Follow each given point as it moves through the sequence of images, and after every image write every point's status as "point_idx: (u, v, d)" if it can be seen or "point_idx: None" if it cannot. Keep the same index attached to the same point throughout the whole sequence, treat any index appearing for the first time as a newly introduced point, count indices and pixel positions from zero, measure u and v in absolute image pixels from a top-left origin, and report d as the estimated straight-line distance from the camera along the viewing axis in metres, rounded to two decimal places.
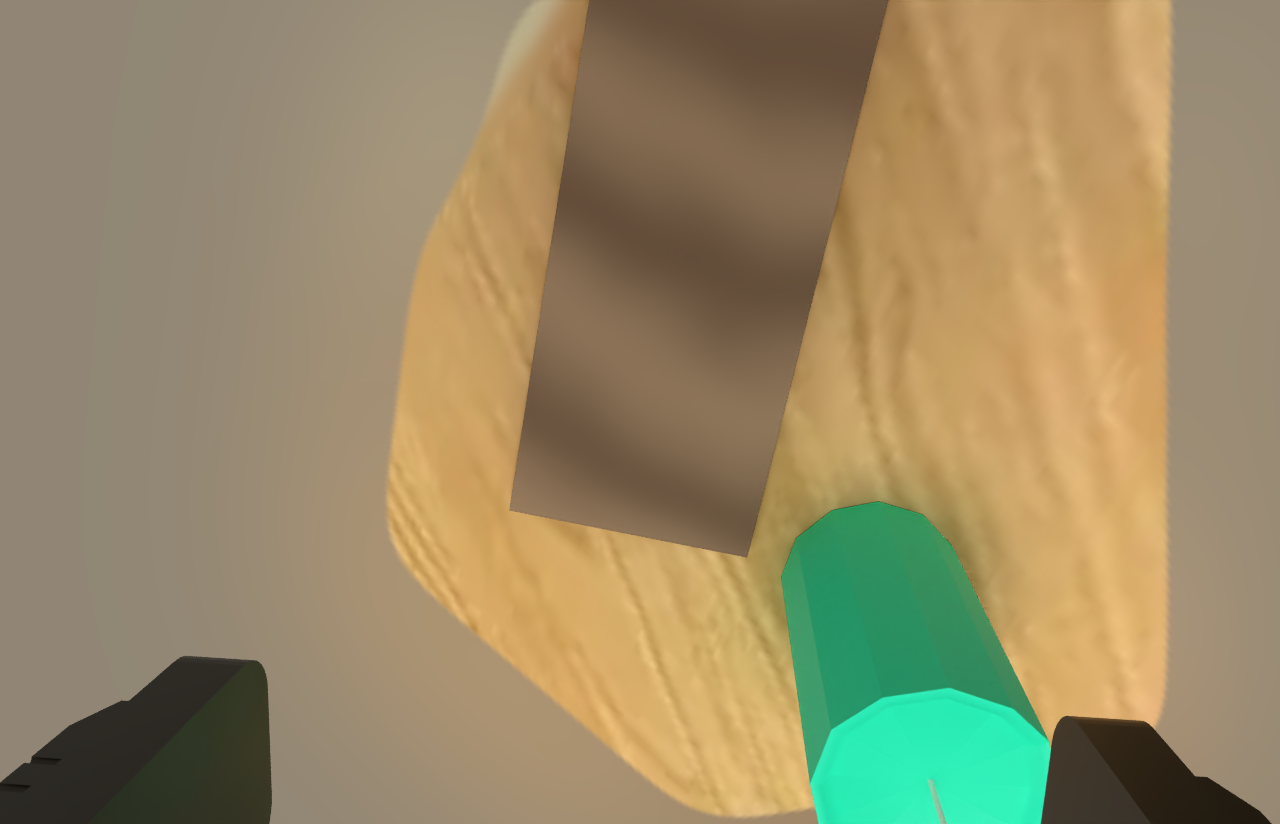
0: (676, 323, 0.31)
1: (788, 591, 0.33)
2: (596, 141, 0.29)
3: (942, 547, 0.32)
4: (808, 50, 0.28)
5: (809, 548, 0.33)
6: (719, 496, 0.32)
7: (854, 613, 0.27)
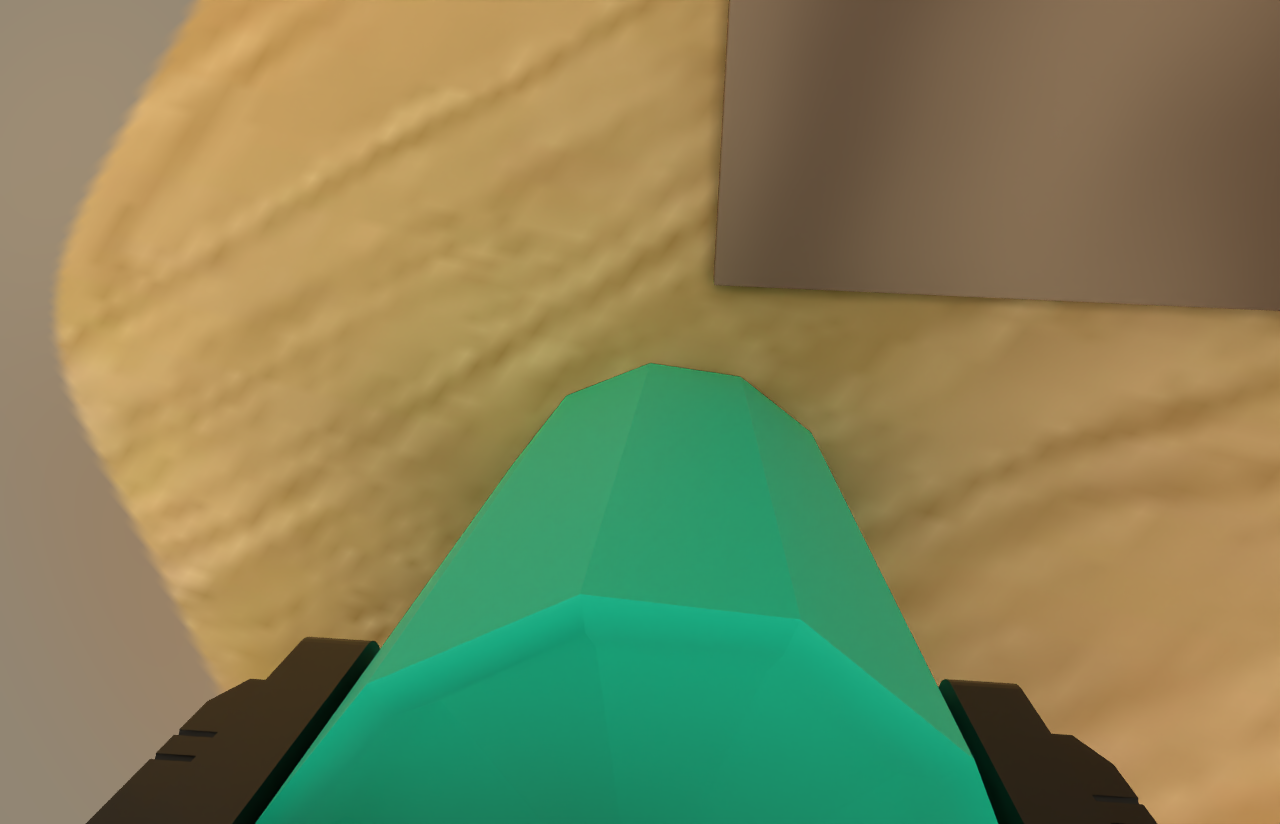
0: (1232, 41, 0.15)
1: (669, 383, 0.15)
2: None
3: None
4: None
5: (764, 406, 0.16)
6: (848, 202, 0.15)
7: (864, 553, 0.11)
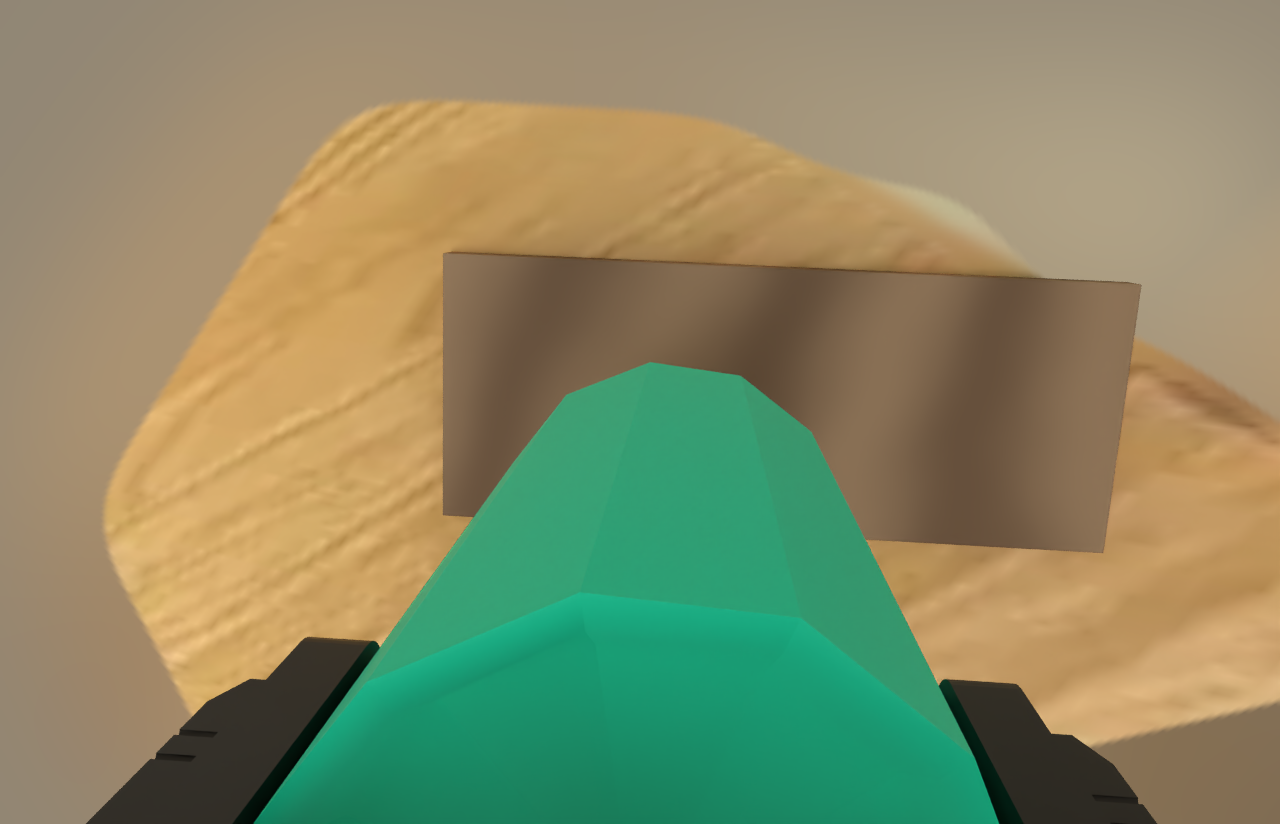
0: None
1: (669, 382, 0.15)
2: (860, 301, 0.29)
3: None
4: (963, 486, 0.30)
5: (765, 405, 0.16)
6: None
7: (865, 553, 0.11)
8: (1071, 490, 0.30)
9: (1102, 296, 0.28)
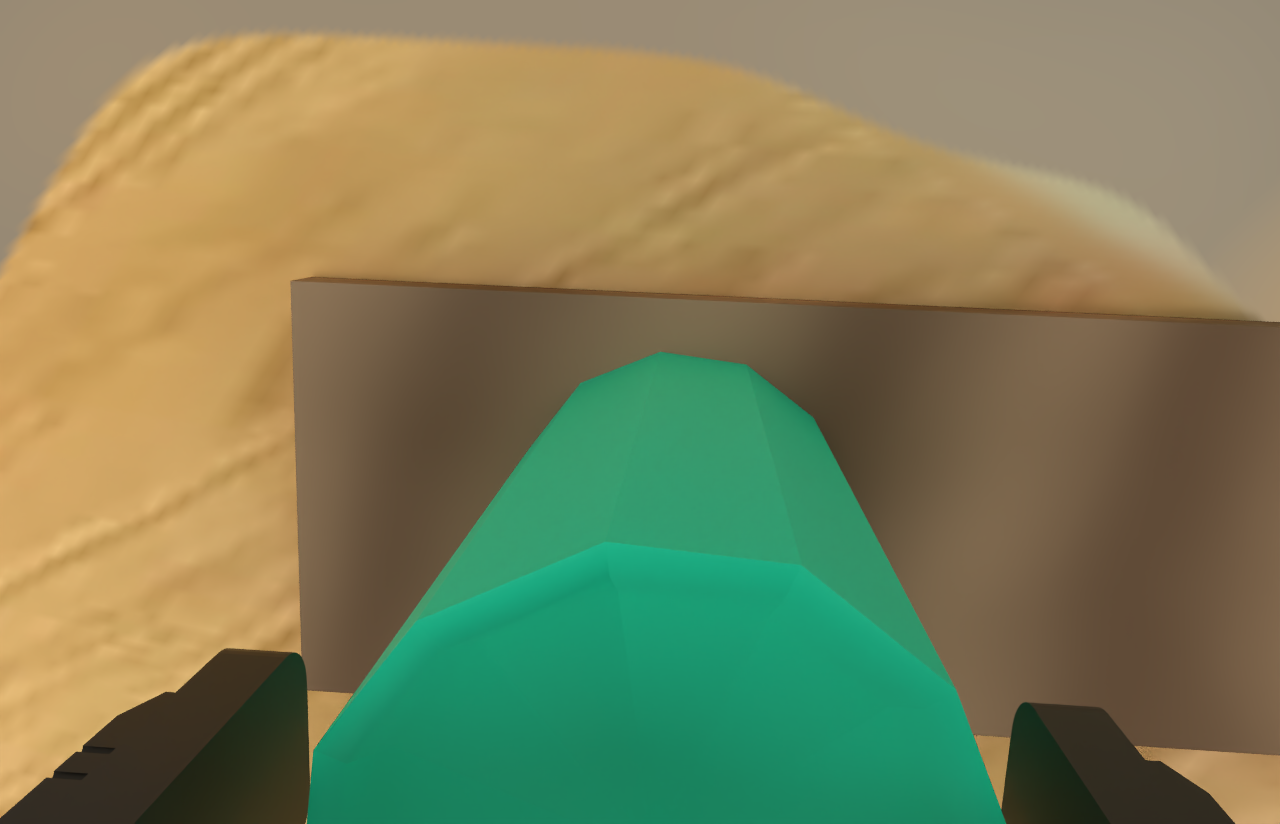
0: None
1: (679, 369, 0.16)
2: (969, 360, 0.18)
3: None
4: (1129, 655, 0.19)
5: (769, 392, 0.17)
6: None
7: (862, 522, 0.12)
8: None
9: None
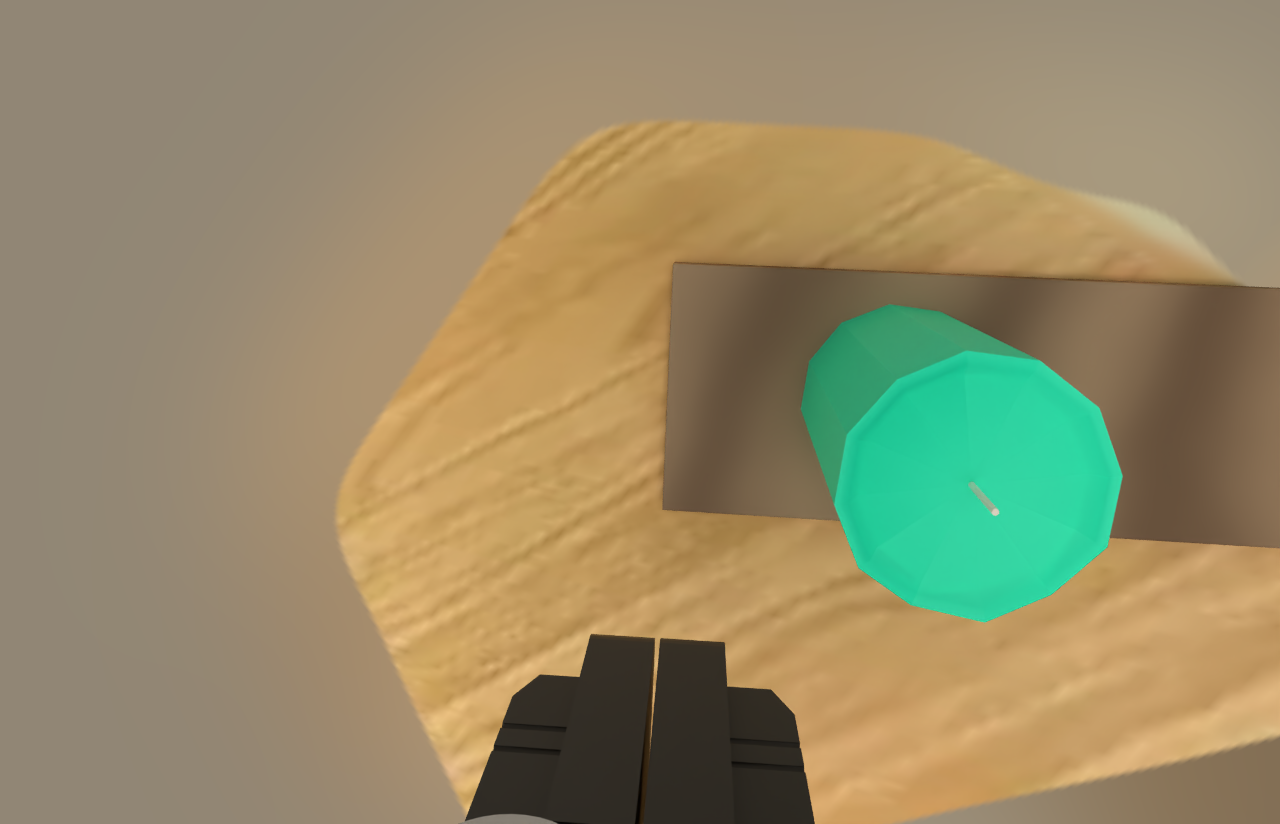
0: None
1: (911, 311, 0.29)
2: (1071, 308, 0.30)
3: None
4: (1165, 485, 0.31)
5: None
6: (724, 473, 0.32)
7: None
8: (1271, 489, 0.31)
9: None
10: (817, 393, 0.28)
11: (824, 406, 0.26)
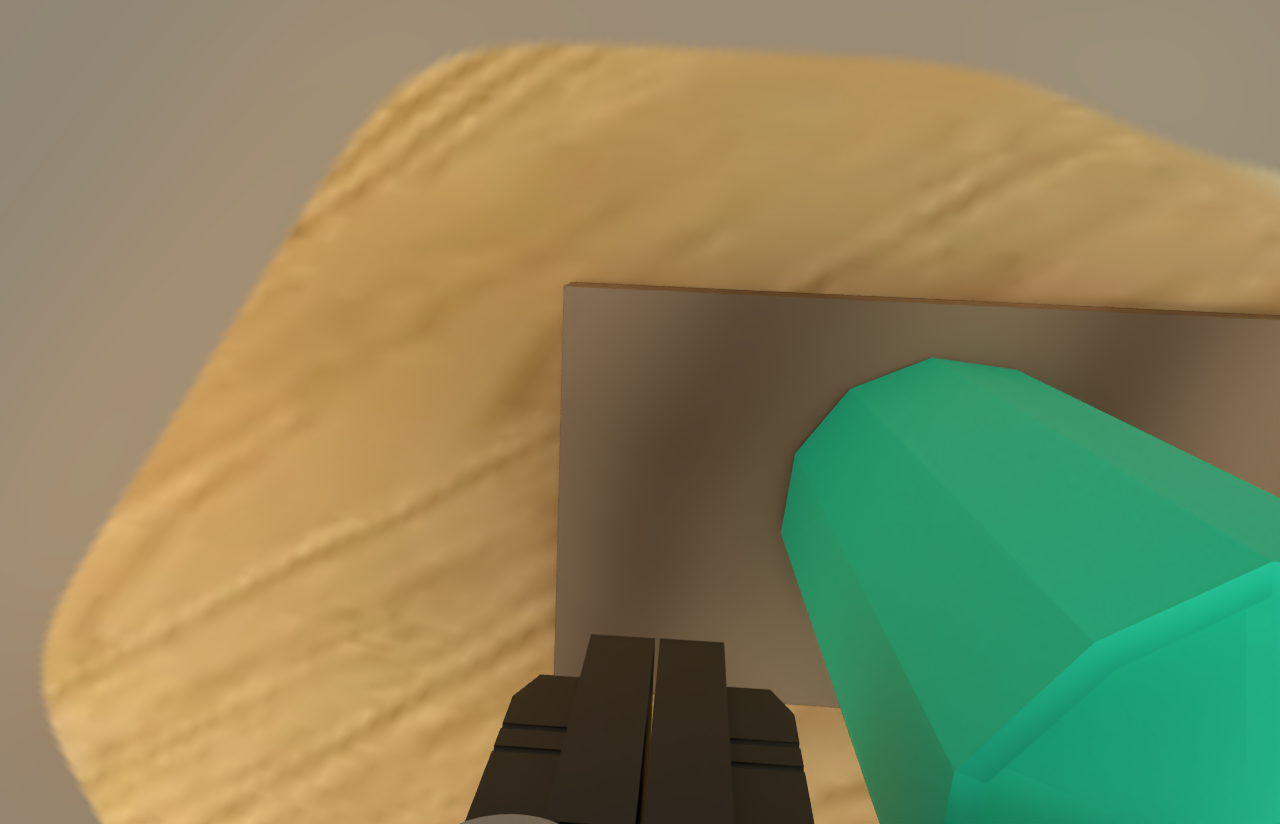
0: None
1: (980, 376, 0.16)
2: (1240, 365, 0.18)
3: None
4: None
5: None
6: (655, 631, 0.20)
7: None
8: None
9: None
10: (823, 539, 0.15)
11: (848, 590, 0.13)
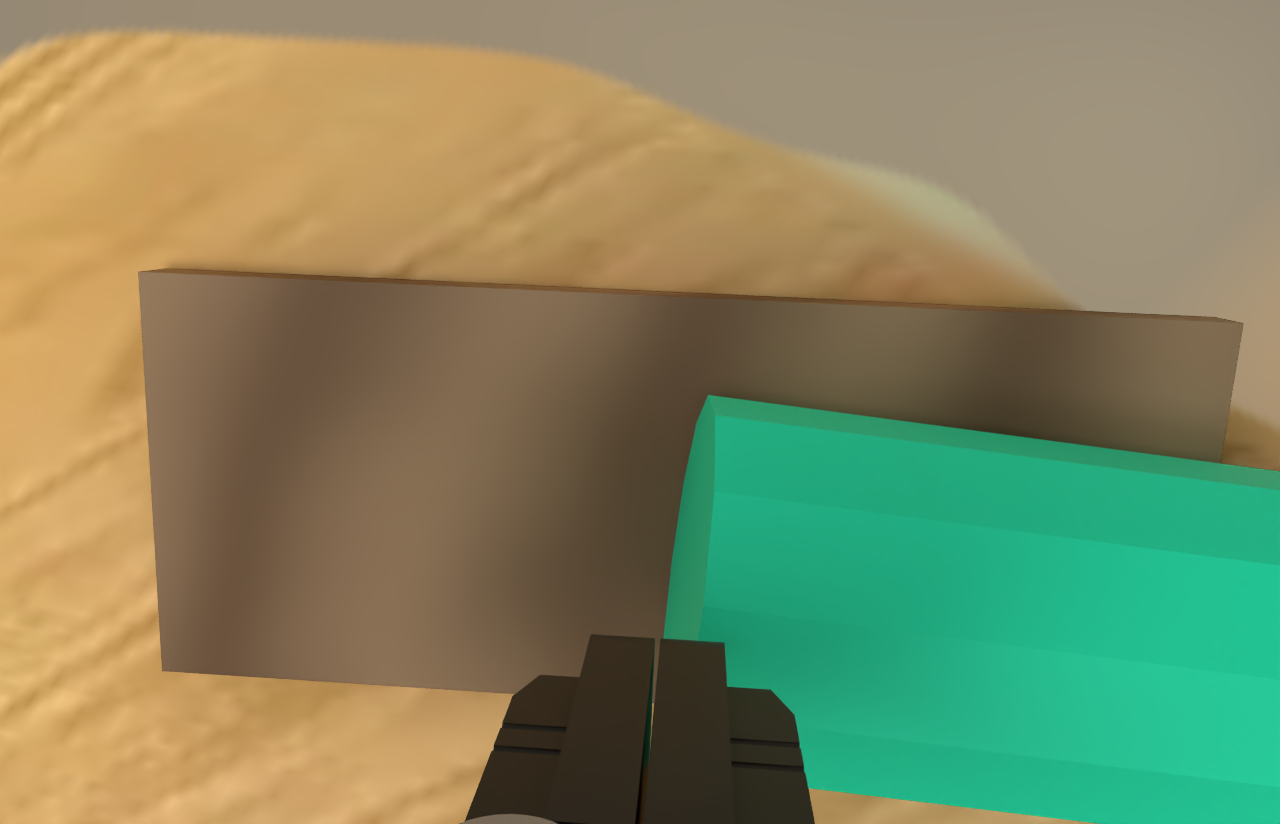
0: (525, 508, 0.19)
1: (819, 424, 0.15)
2: (793, 348, 0.18)
3: None
4: None
5: None
6: (255, 614, 0.20)
7: None
8: None
9: (1180, 341, 0.18)
10: (982, 665, 0.13)
11: (1132, 682, 0.13)
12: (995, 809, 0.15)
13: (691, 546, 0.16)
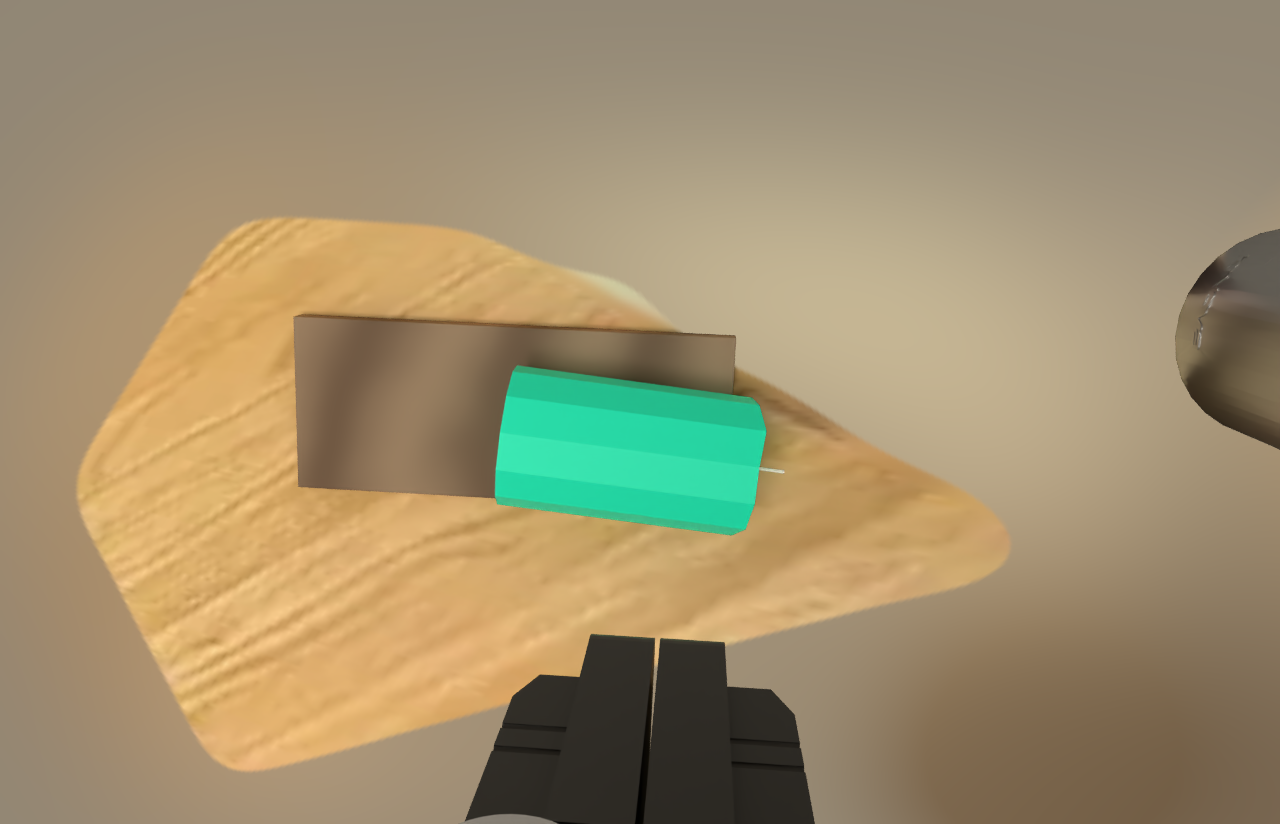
0: (452, 414, 0.46)
1: (552, 375, 0.42)
2: (559, 348, 0.45)
3: None
4: None
5: None
6: (339, 461, 0.47)
7: None
8: None
9: (712, 345, 0.44)
10: (593, 453, 0.40)
11: (644, 459, 0.40)
12: (610, 510, 0.41)
13: None
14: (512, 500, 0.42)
